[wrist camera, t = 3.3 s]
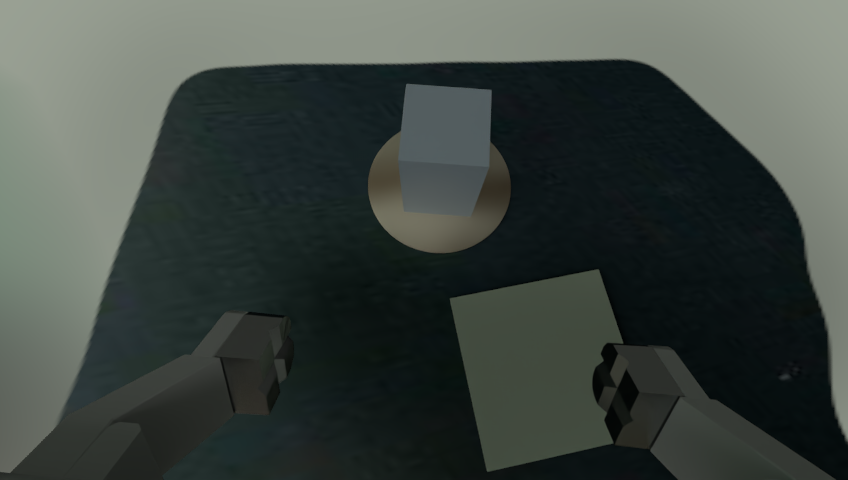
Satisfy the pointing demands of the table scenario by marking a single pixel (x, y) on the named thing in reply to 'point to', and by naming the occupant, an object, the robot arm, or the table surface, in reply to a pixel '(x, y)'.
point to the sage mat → (536, 366)
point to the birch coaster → (435, 228)
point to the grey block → (444, 148)
